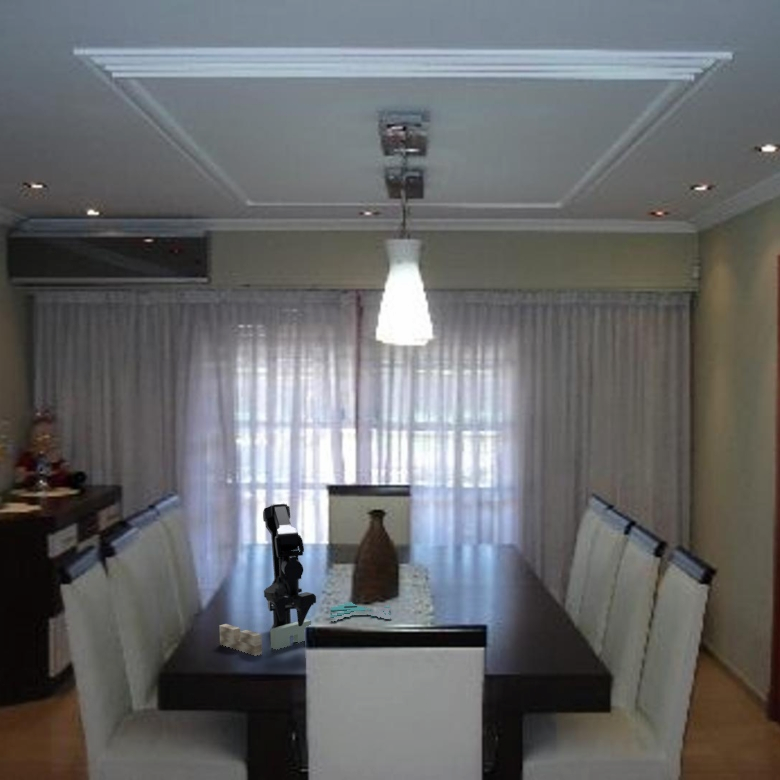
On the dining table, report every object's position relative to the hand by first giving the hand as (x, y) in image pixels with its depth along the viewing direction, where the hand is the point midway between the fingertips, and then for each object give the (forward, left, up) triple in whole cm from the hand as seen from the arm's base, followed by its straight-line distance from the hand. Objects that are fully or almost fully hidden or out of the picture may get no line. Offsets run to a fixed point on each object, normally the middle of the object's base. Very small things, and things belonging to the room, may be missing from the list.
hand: (290, 623), depth 297 cm
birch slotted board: (+4, -15, -6) cm, 17 cm away
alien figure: (-34, +20, -7) cm, 40 cm away
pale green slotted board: (0, 0, -6) cm, 6 cm away
